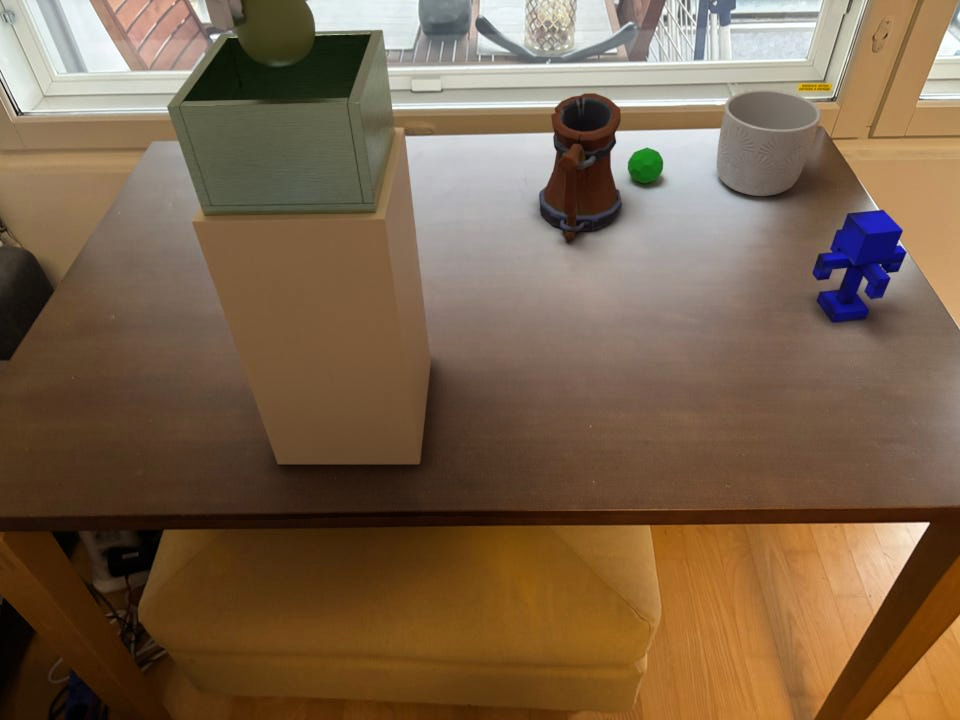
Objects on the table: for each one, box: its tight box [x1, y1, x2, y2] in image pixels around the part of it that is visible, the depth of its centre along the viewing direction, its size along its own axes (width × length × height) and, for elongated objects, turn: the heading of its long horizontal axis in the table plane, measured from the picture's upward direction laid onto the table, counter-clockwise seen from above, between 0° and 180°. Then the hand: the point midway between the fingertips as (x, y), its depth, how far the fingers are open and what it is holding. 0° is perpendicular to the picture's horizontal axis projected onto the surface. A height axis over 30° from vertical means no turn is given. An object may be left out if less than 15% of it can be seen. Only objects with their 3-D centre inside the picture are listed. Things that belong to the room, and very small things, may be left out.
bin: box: [166, 29, 431, 465], centre depth 65 cm, size 14×14×36 cm
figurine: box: [811, 209, 908, 323], centre depth 83 cm, size 8×8×12 cm
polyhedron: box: [627, 147, 664, 184], centre depth 107 cm, size 5×5×5 cm
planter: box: [716, 89, 822, 197], centre depth 104 cm, size 12×12×11 cm
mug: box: [538, 92, 623, 242], centre depth 96 cm, size 18×12×15 cm, turn 164°
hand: (271, 10), depth 50 cm, fingers closed on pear, 5 cm apart
